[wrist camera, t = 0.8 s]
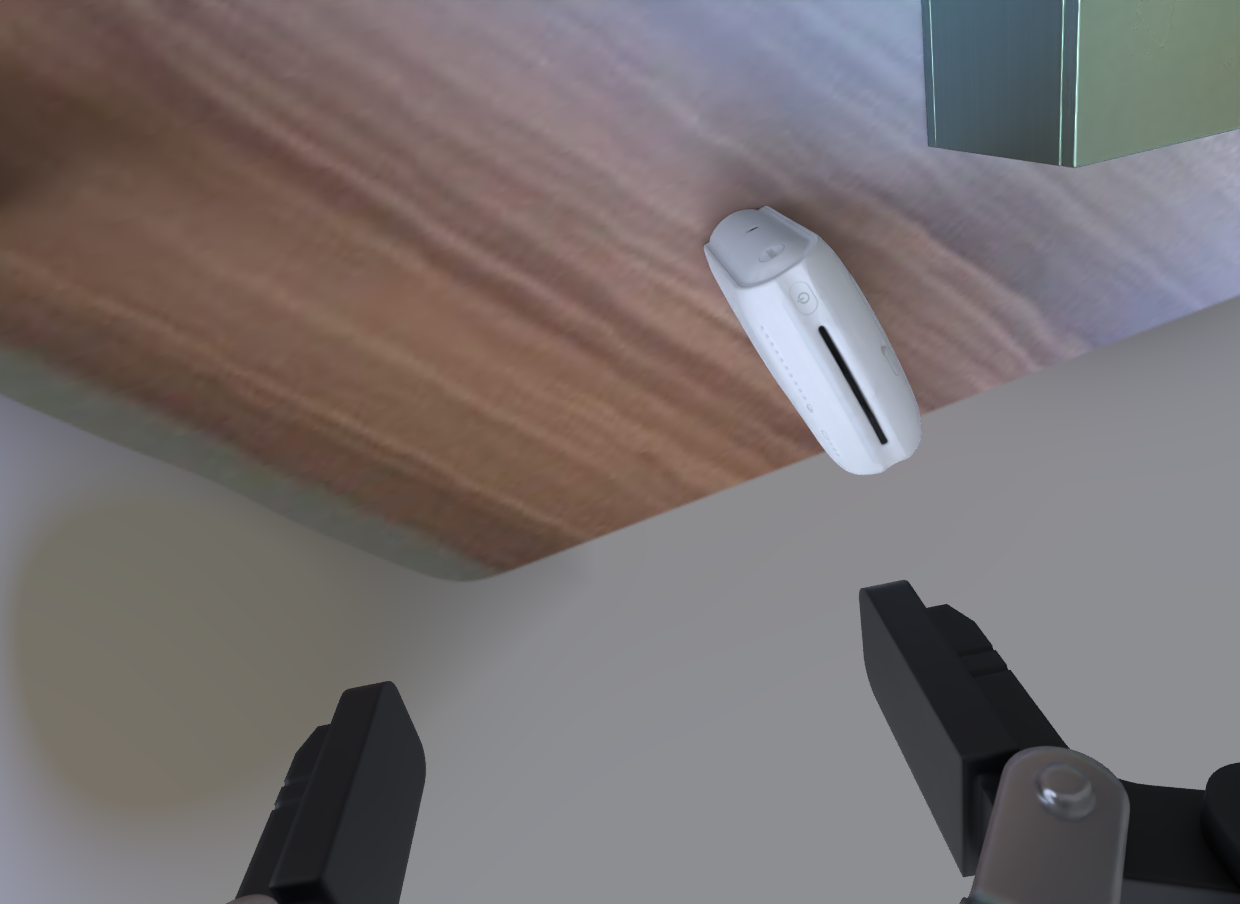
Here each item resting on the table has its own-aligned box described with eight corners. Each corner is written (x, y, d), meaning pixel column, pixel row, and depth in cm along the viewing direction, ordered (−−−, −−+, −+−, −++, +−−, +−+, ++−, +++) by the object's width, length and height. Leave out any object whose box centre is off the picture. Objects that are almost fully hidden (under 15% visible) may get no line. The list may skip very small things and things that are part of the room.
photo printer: (687, 238, 37) (733, 301, 26) (763, 187, 36) (845, 229, 25) (785, 400, 41) (861, 515, 30) (856, 358, 40) (962, 459, 29)
